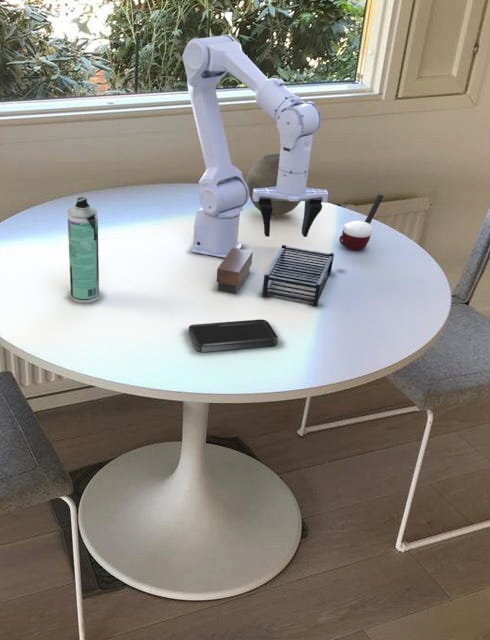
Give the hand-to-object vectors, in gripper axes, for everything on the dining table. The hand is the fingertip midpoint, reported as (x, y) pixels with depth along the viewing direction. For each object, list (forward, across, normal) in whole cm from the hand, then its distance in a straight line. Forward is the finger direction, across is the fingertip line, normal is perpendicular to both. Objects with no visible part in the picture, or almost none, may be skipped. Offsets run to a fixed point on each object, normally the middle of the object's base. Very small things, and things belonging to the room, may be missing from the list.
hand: (285, 234), depth 155 cm
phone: (+10, -13, -25) cm, 29 cm away
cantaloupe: (+10, +4, +34) cm, 36 cm away
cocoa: (+10, +20, +16) cm, 27 cm away
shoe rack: (+10, +3, -3) cm, 11 cm away
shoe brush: (+10, -10, -2) cm, 14 cm away
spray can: (+10, -40, -9) cm, 42 cm away
